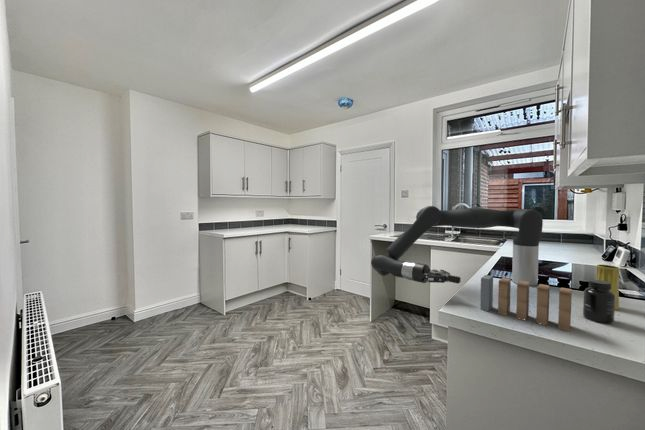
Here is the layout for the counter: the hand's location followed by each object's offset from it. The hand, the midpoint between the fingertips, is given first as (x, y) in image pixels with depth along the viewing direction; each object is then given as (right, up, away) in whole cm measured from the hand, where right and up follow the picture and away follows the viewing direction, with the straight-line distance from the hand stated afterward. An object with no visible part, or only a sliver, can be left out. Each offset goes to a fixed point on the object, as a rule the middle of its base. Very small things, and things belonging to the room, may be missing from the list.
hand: (459, 280), depth 99 cm
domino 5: (+20, -9, -20) cm, 30 cm away
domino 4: (+17, -9, -17) cm, 25 cm away
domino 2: (+10, -8, -9) cm, 16 cm away
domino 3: (+13, -9, -13) cm, 21 cm away
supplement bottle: (+35, -9, -15) cm, 39 cm away
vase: (+48, -8, -6) cm, 49 cm away
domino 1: (+6, -8, -6) cm, 12 cm away
